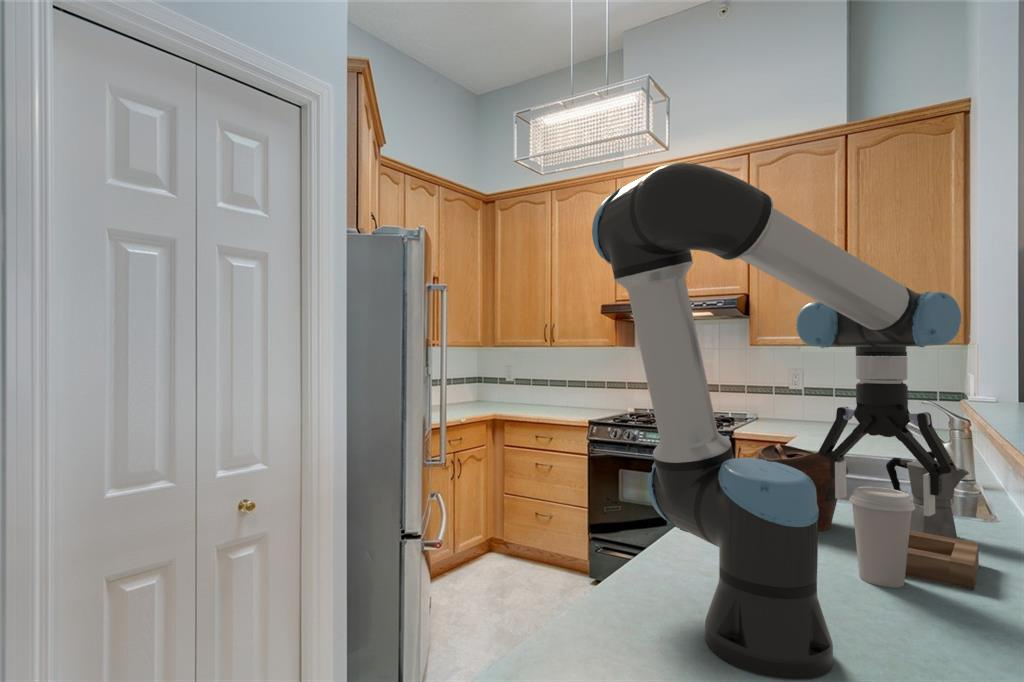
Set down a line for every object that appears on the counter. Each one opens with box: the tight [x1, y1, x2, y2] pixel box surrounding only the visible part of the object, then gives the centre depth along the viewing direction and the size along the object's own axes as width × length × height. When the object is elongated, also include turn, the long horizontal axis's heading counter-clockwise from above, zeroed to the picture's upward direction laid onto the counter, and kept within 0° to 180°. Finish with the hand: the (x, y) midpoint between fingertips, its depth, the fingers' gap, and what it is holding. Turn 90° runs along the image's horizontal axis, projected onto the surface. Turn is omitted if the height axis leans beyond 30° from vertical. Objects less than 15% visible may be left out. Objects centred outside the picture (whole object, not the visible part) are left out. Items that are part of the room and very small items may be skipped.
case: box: [754, 442, 850, 532], centre depth 133 cm, size 18×20×18 cm
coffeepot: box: [885, 450, 970, 539], centre depth 126 cm, size 15×9×18 cm, turn 35°
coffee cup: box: [848, 486, 915, 589], centre depth 99 cm, size 10×10×15 cm
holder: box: [905, 531, 979, 591], centre depth 106 cm, size 16×16×4 cm
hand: (882, 505), depth 99 cm, fingers open, 13 cm apart
